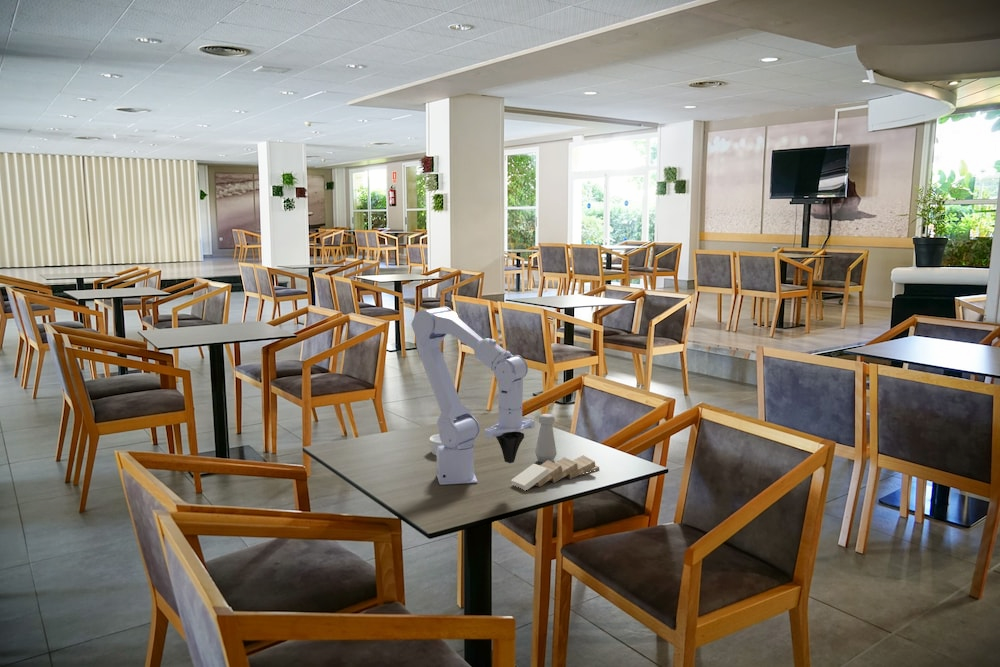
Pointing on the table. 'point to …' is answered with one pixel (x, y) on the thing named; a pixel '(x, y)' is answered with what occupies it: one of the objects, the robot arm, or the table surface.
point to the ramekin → (435, 443)
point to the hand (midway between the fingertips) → (509, 461)
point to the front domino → (530, 477)
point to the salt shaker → (546, 439)
